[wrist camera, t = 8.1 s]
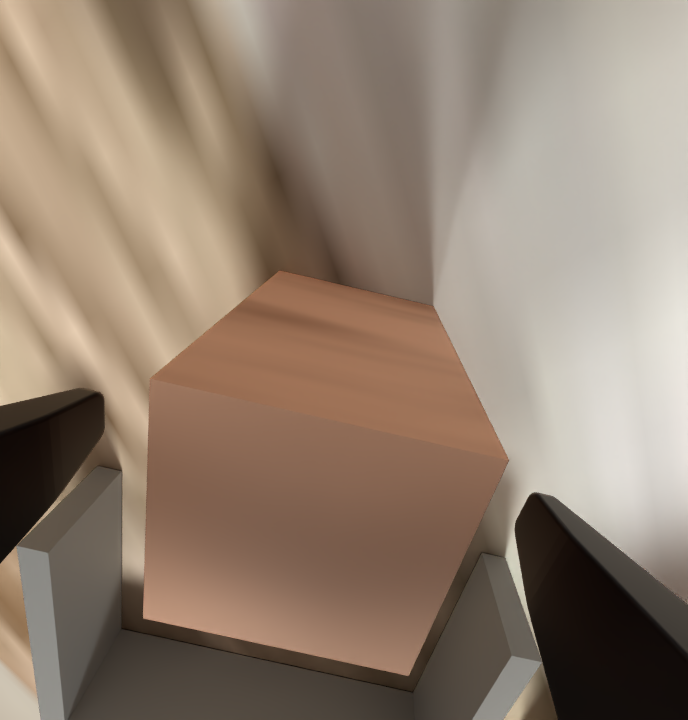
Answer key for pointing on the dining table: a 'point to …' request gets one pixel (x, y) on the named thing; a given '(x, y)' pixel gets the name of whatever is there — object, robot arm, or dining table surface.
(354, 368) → the terracotta block
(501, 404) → the dining table surface
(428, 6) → the dining table surface
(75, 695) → the open-fronted box
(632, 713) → the robot arm
